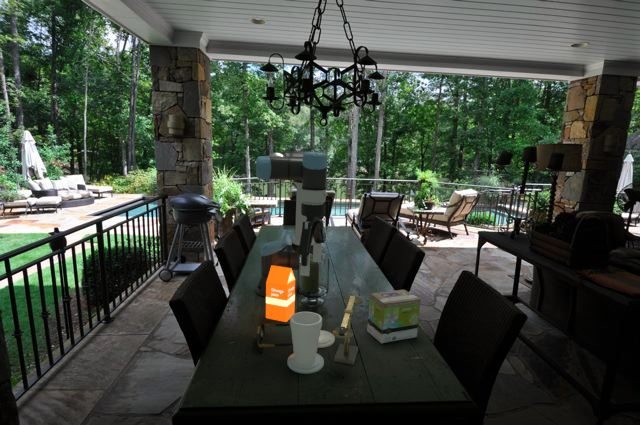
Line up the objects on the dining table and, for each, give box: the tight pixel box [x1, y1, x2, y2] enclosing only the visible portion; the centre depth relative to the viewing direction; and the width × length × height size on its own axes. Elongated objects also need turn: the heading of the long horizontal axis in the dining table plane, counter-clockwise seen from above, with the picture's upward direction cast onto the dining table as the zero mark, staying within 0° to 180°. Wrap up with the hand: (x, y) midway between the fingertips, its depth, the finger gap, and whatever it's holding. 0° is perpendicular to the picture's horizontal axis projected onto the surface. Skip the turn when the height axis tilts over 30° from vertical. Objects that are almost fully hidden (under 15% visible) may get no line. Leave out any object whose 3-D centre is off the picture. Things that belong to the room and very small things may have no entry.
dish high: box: [317, 329, 336, 349], centre depth 124 cm, size 11×11×1 cm
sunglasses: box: [256, 322, 293, 353], centre depth 121 cm, size 14×15×5 cm
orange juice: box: [265, 265, 296, 323], centre depth 139 cm, size 8×9×20 cm
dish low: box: [286, 352, 325, 375], centre depth 109 cm, size 11×11×1 cm
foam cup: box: [289, 311, 323, 365], centre depth 109 cm, size 10×9×13 cm
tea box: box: [366, 289, 421, 344], centre depth 128 cm, size 15×10×15 cm
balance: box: [332, 295, 363, 365], centre depth 113 cm, size 22×6×17 cm, turn 165°
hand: (311, 268), depth 116 cm, fingers open, 13 cm apart
